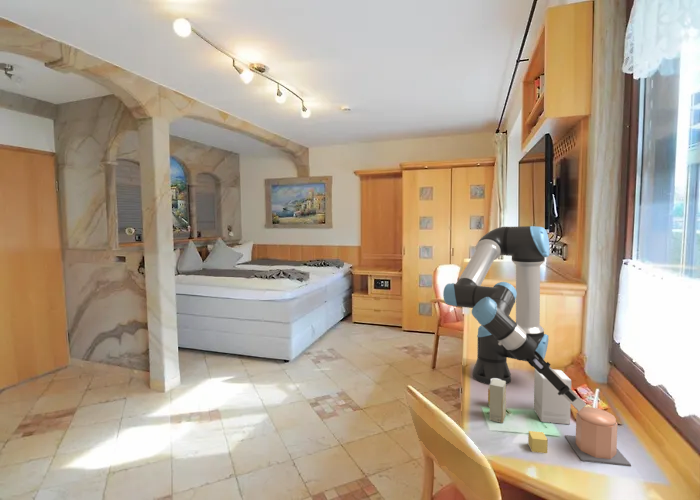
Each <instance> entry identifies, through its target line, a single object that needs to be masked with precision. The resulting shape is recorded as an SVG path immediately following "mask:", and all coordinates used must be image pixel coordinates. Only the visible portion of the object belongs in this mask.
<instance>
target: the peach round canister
mask: <svg viewBox="0 0 700 500" xmlns="http://www.w3.org/2000/svg"><path fill="white" fill-rule="evenodd" d="M575 415H576V419H575V436H576V444H577V446H578V447H579V449H580V450H581V451H583V452H585V453H587V454H589V455H591V456H593V457H596V458H605V459H611V458H613V457H614V456H615V455H616V452H617V449H618V422H617V418H616V416H615V415H613V414H612V413H611V412H608V411H606V410H604V409H601V408H596V407H591V406H590V407H589V406H585V407H583V408H582V409H581V410H579V411H578V410H577V412H576V413H575Z"/></svg>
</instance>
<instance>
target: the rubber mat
mask: <svg viewBox="0 0 700 500" xmlns="http://www.w3.org/2000/svg"><path fill="white" fill-rule="evenodd" d="M564 437H565V439H566V440H567V442H568V443H569V445H570V446H571V448H572V449H573V451H574V452H575V454H576V455H577V457H578V458H579V459H580V461H581V462H589V463H598V464H608V465H617V466H625V467H632V464H631V463H630V462H629V460H628V459H627V458H626V457H625V456H624V455H623V453H621V451H620V450H619V449H618V448H617V452H616V455H615V456H614V457H613V458H611V459H605V458H596V457H593V456H591V455H589V454H587V453H585V452H583V451H581V450H580V449H579V447H578V446H577V444H576V435H569V434H565V435H564Z"/></svg>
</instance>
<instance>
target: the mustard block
mask: <svg viewBox="0 0 700 500" xmlns="http://www.w3.org/2000/svg"><path fill="white" fill-rule="evenodd" d="M527 438H528V440H527V441H528V442H527V443H528V444H527V445H528V447H529V448H530V450H531V452H532V453H541V454H548V445H549V442H548V438H547V436H546V434H545V433H544V432H543V431H534V430H528V437H527Z"/></svg>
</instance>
